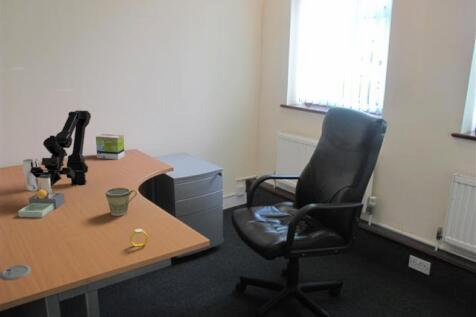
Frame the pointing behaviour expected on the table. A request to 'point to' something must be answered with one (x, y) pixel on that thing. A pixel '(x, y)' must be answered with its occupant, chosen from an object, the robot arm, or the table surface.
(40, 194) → the ball
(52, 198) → the launcher deck
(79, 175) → the robot arm
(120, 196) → the ceramic cup
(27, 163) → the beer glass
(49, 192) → the beige upright block
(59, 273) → the table surface
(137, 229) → the watch
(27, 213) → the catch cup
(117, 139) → the tea box
